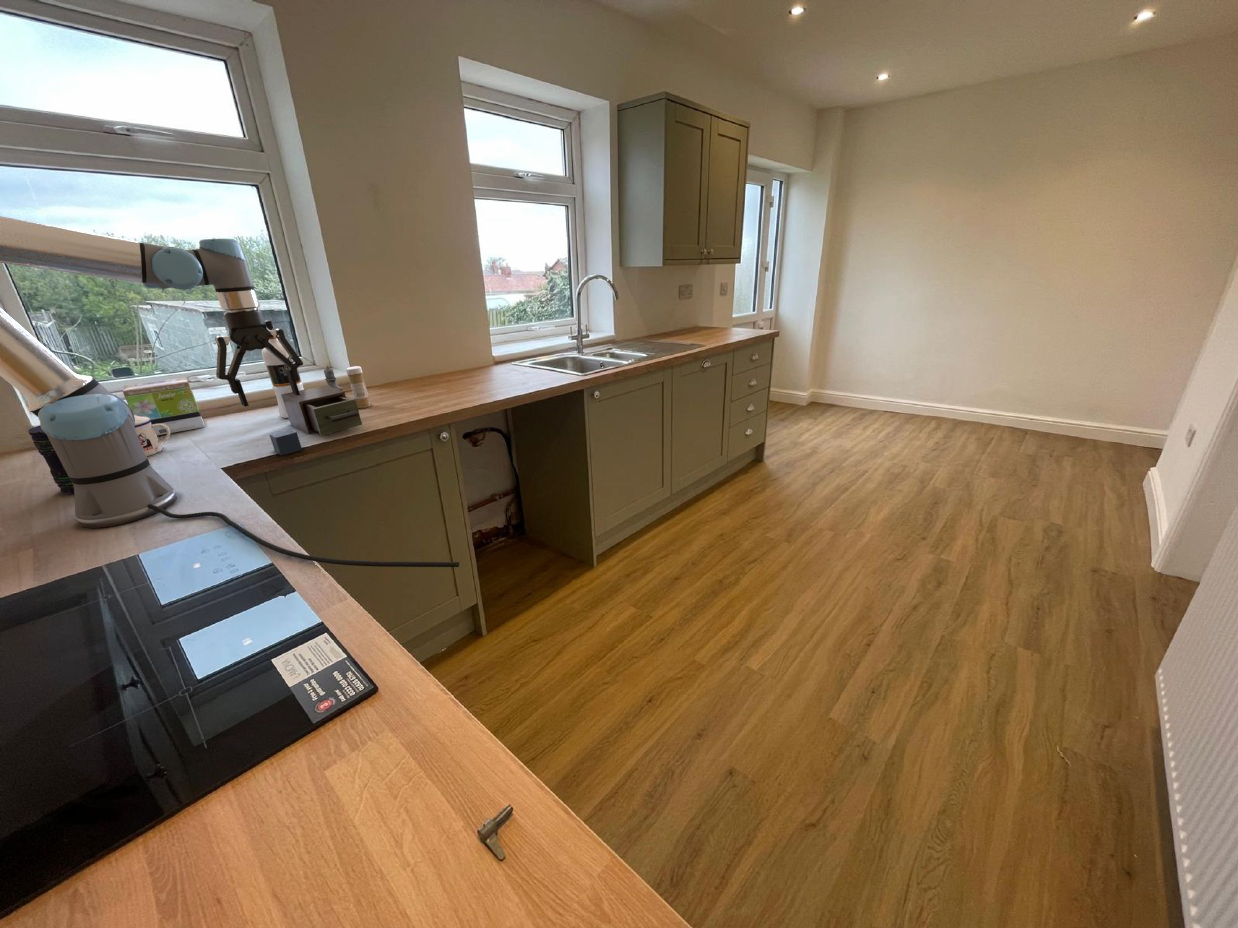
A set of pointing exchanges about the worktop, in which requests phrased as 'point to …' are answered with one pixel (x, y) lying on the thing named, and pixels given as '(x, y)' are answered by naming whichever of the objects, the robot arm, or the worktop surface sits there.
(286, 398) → the cabinet
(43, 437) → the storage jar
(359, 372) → the sprinkles bottle
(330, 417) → the drawer
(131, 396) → the tea box
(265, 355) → the vodka
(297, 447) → the block
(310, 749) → the worktop surface
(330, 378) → the grey figurine
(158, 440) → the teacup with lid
